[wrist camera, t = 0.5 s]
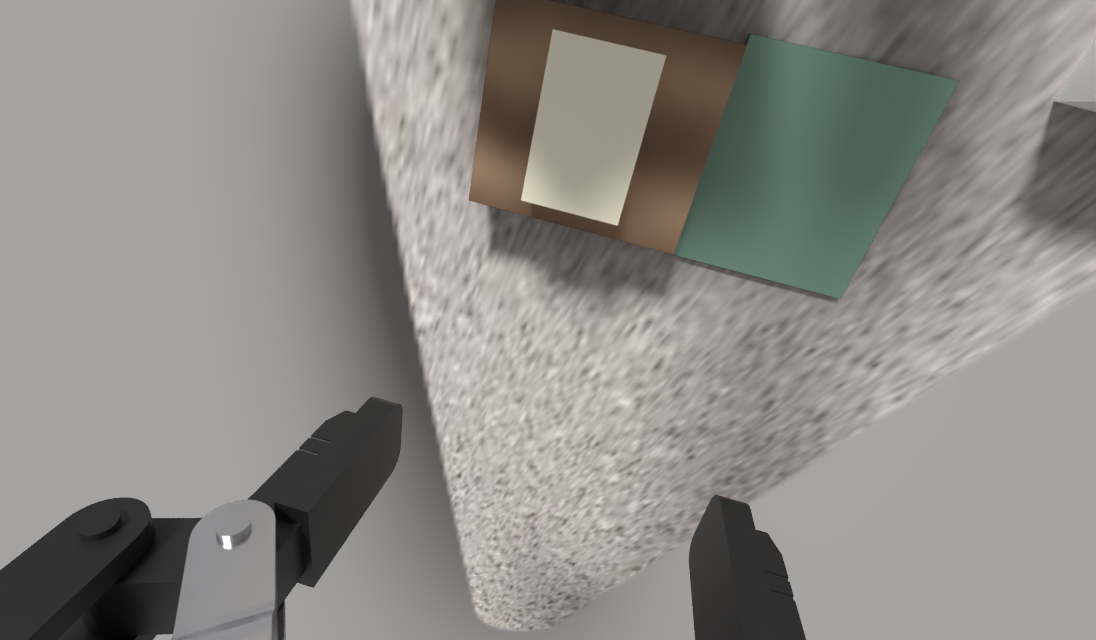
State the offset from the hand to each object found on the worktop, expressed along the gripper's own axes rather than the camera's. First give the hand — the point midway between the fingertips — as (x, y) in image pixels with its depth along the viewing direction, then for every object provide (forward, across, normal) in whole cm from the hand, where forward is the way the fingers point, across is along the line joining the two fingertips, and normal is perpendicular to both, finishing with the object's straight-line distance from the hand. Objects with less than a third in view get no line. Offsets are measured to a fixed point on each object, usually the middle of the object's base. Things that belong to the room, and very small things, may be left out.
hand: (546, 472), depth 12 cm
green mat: (+26, -11, -6) cm, 28 cm away
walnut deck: (+26, +3, -6) cm, 26 cm away
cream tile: (+22, +3, -6) cm, 23 cm away
